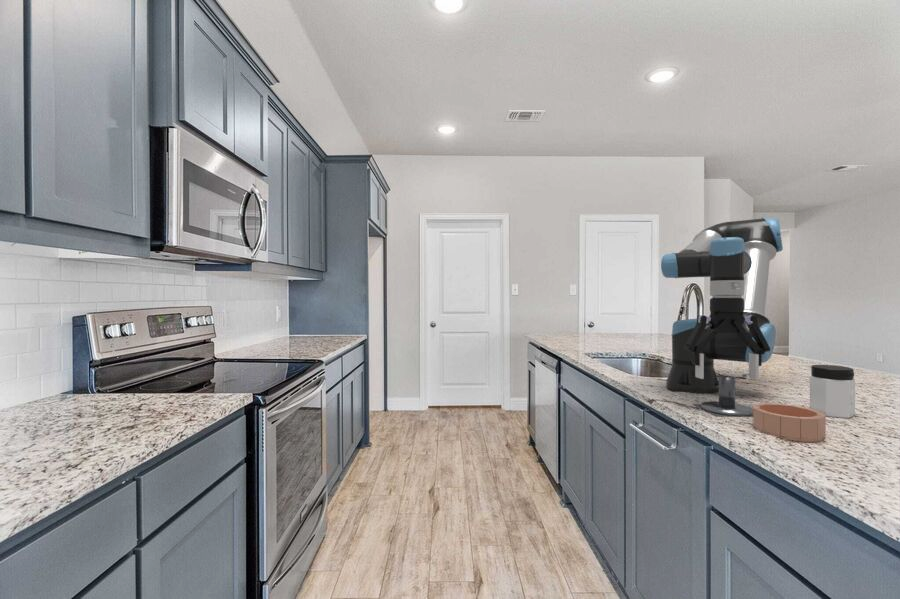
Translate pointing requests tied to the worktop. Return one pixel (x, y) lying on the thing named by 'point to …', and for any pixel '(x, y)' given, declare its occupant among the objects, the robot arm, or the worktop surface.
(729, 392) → the lid
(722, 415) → the mat
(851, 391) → the jar
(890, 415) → the worktop surface
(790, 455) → the worktop surface
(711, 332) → the robot arm
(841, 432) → the worktop surface
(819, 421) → the bowl
